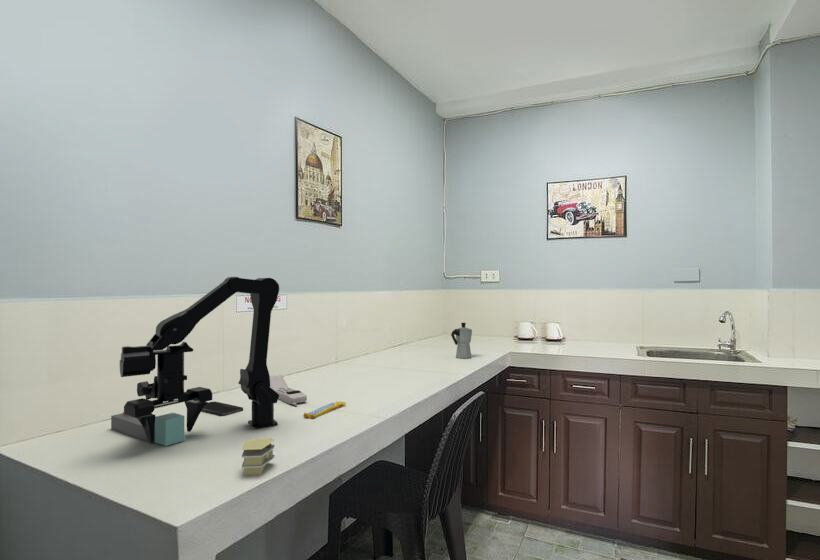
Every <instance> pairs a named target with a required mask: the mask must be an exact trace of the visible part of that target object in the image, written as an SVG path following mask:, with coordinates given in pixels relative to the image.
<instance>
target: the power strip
mask: <svg viewBox="0 0 820 560" xmlns="http://www.w3.org/2000/svg"><path fill="white" fill-rule="evenodd" d="M110 418H111V419H110V420H111V421H110V427H111V428H110V429H111V430H112V431H114V432H118V433H121V434H123V435H126V436H129V437H131V438H134V439H137V440H140V441H142V442H145V443H148V444H151V443H150V442H149V441H148V438H147V436H146V433H145V431H144V429H143V426H142V424H141V423H140V421H139V420H138V419H137V418H134V417H131V416H129V415H126V414H124V411H123V412H122V413H117V414H113V415H111V416H110ZM154 443H156V442H155V431H154V440H153V443H152V444H154Z"/></svg>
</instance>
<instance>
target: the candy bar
mask: <svg viewBox="0 0 820 560" xmlns="http://www.w3.org/2000/svg"><path fill="white" fill-rule="evenodd" d="M346 404H347V402H345V401H335V402H330V403H328V404H326V405H323V406H321V407H319V408H317V409H314V410H312V411H309V412H304V413H303V417H304V419H317V418H319V417H321V416H325V415H326V414H328V413H331V412H333V411H336V410H338V409H340V408H342V407H343V406H344V405H346Z"/></svg>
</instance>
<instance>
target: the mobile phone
mask: <svg viewBox="0 0 820 560" xmlns="http://www.w3.org/2000/svg"><path fill="white" fill-rule="evenodd" d="M270 387H271V388H272V389H273V390H274V391H275V392H276V393H278V394H279V398H278V400H280V401H282V402H284V403H286V404H288V405H292V406H294V407H297V406H298V404H300V403H305V402H307V400H308V399H307V394H306V393H304V392H303V391H301V390H296V389H293V388H291V387H289V385H288V384H287V382H286V380H285V378H284V376H283V375H282V374H277V375H276V374H275V375H270Z"/></svg>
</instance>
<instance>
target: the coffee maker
mask: <svg viewBox="0 0 820 560" xmlns="http://www.w3.org/2000/svg"><path fill="white" fill-rule="evenodd" d="M460 324H461V327H459V328H455V329H453V330H452V332H451V334H450V336H451V338H452V340H453V343H454V344H455V345H456V346H457V347H456V353H455V359H459V360H468V359H472V352H471V351H472V350H471V345H470V344H471V341H472V334H473V329H472V328H468V327H466V324H467V323H466V322H461V323H460Z"/></svg>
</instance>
